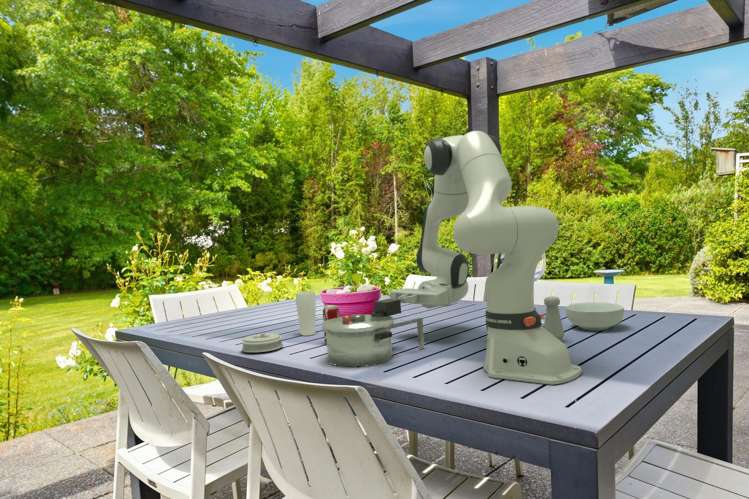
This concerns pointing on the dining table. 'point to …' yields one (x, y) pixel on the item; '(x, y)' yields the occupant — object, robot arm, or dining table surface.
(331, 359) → the cooker pot
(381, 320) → the cooker lid
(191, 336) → the dining table surface
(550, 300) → the salt shaker
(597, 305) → the cereal bowl
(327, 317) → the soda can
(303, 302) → the drinking glass
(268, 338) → the lid
